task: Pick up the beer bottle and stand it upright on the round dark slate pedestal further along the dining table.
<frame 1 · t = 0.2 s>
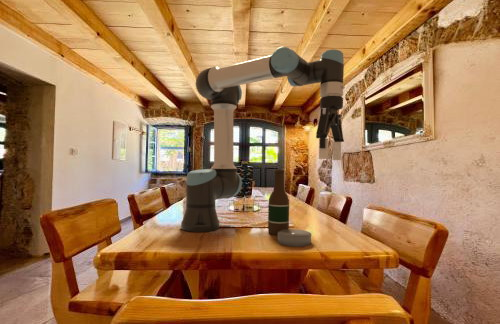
hand: (330, 159, 93), 28 cm above the table, fingers open, 13 cm apart
slate pedestal: (294, 241, 91), on the table
beer bottle: (278, 233, 103), on the table
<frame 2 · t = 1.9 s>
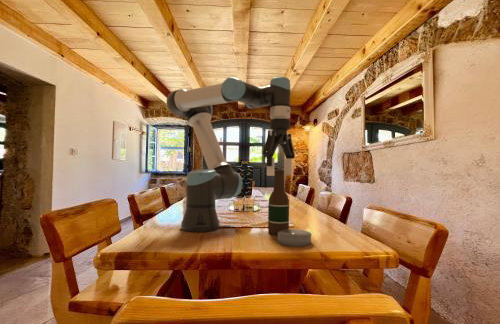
hand: (279, 175, 103), 22 cm above the table, fingers open, 13 cm apart
nothing on the table moved.
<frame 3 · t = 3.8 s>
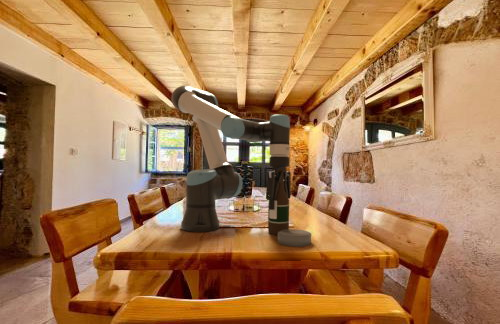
hand: (278, 216, 103), 6 cm above the table, fingers closed on beer bottle, 8 cm apart
beer bottle: (278, 233, 103), on the table, touching gripper
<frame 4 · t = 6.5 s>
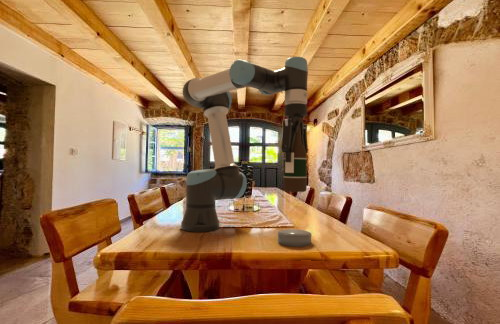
hand: (295, 172, 92), 23 cm above the table, fingers closed on beer bottle, 8 cm apart
beer bottle: (294, 191, 91), point 17 cm above the table, touching gripper
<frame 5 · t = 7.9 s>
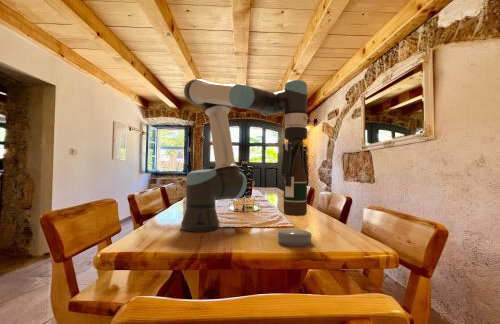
hand: (295, 195, 91), 15 cm above the table, fingers closed on beer bottle, 8 cm apart
beer bottle: (295, 214, 91), point 9 cm above the table, touching gripper
when the fingers open (10 cm above the table, at t = 9.3 s): beer bottle stays where it is, resting on slate pedestal.
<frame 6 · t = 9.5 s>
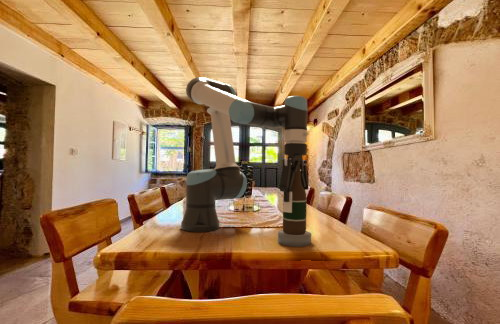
hand: (294, 210, 91), 11 cm above the table, fingers open, 9 cm apart
beer bottle: (294, 233, 91), point 3 cm above the table, touching slate pedestal
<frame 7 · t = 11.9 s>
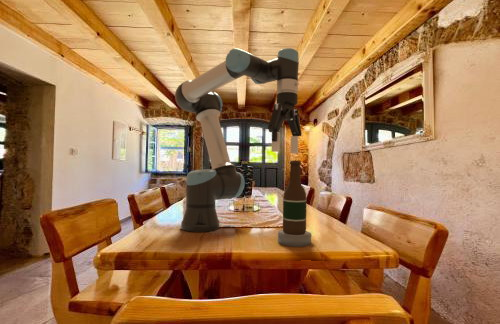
hand: (285, 152, 98), 30 cm above the table, fingers open, 13 cm apart
nothing on the table moved.
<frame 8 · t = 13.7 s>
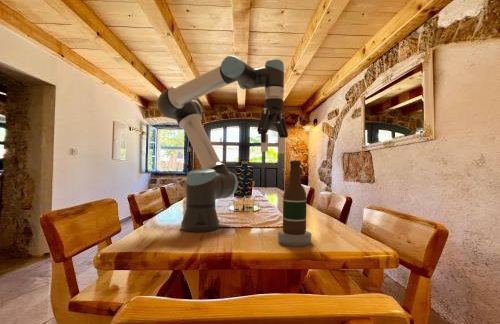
hand: (273, 152, 109), 31 cm above the table, fingers open, 13 cm apart
nothing on the table moved.
at the end: beer bottle inside the target area on the slate pedestal (0.0 cm from its centre), point 3.0 cm above the slate pedestal's base; beer bottle tilted 0°; the gripper is holding nothing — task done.
